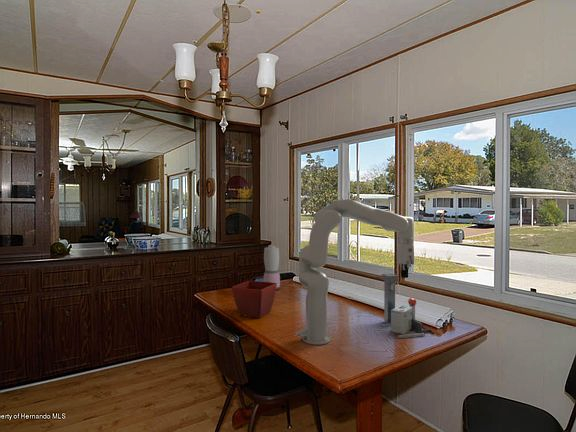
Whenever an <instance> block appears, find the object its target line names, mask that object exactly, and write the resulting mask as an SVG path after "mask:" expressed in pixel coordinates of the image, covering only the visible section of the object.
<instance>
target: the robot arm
mask: <svg viewBox="0 0 576 432" xmlns="http://www.w3.org/2000/svg"><path fill="white" fill-rule="evenodd" d="M342 218H349V219H351V220H354V221H358V222H360V223H363V224H366V225H370V226H378V227H382V229H383V230H384V231H387V232H397V236H396V237H397V239H396V240H397V241H396V245H397V246H396V247H397V249H396V261H397V263H398V265H399V266H400V267H399V268H400V278H403V279H408V278H409V269H410V268H411V267H412V265H414V264H415V250H414V249H415V248H414V218H413V217H412V216H402V215H400V214H398V213H394V212H391V211H388V210H385V209H384V210H383V209H381V208H378V207H373V206H372V205H371V206H370V205H367V204H365V203H363V202H359V201H357V200H354V199H349V198H348V199H339V200H336V201H335V202H332V203H330V204H329V205H327V206H324V207H323V208H321V209H319V210H317V211H316V213H315V214H314V217H313V221H314V224H313V226H312V227H311V228H310V234H309V240H308V245H305V246H304V247H303V248H302V249H301V251H300V253H299V256H298V257H299V258H298V259H299V261H298V282H299V284H300V285H301V286H303V287H304V288H306V289H307V292H306V293H307V294H306V297H305V328H304V329H303V330H302V331H295V336H296V337H299V338H302V341H303V342H305V343H306V344H308V345H314V346H315V345H316V346H318V345H319V346H320V345H327V344H329V343H330V342H331V336H330V335H329V334H328V320H327V319H328V292H329V286H330V283H329V278H328V276H327V274H325V273H324V272H322V271H320V270H318V269H320V268H323V267H324V266H325V265H326V264H327V261H328V248H329V247H328V246H329V245H328V244H329V238H330V235H331V233H332V232H333V230H334V229H336V228H337V227H338V226H339V225H340V224H341V222H342Z"/></svg>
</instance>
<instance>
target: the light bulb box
mask: <svg viewBox="0 0 576 432" xmlns="http://www.w3.org/2000/svg"><path fill="white" fill-rule="evenodd" d="M410 330H413V329H412V307H409V306H406V305H400V304H399V305H398V306H395V308H394V309H392V310H391V326H390V332H394V333H398V334H400V335H405V334H406V333H407V332H409V331H410Z"/></svg>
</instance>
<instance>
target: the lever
mask: <svg viewBox="0 0 576 432" xmlns="http://www.w3.org/2000/svg"><path fill="white" fill-rule="evenodd" d="M407 303H408V305H409V306H408V307H412V318H413V319H415V320H416V305H417V300H416V298H414V297H411V298H409V299H408V301H407Z"/></svg>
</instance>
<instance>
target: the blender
mask: <svg viewBox="0 0 576 432" xmlns="http://www.w3.org/2000/svg"><path fill="white" fill-rule="evenodd" d="M263 263H264V269H265V270H264V273H263V282H272V283H277V285H276V290H278V289H281V276H280V271H279V266H280V248H279V247H276V245H268V246H267V247H264V251H263Z"/></svg>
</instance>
